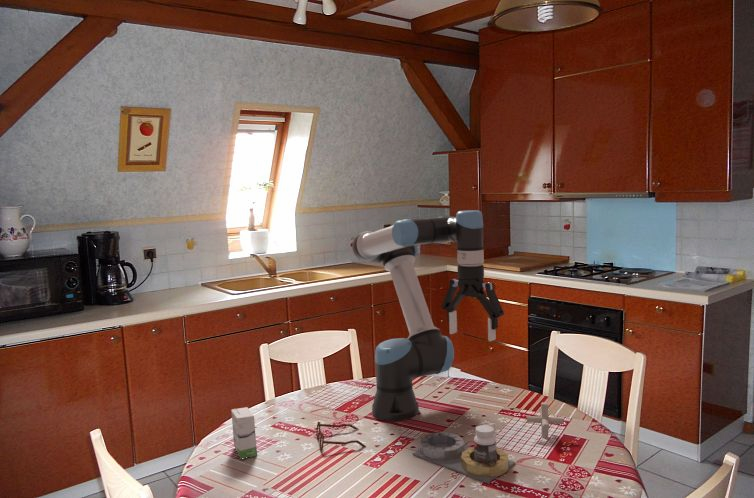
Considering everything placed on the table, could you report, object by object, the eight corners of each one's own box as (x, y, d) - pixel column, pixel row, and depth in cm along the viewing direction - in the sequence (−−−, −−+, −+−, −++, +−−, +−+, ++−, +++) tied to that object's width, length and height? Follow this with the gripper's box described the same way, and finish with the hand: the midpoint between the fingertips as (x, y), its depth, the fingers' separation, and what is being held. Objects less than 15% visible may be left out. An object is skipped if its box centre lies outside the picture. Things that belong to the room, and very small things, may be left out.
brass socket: (452, 467, 153) (452, 457, 152) (478, 451, 161) (478, 442, 161) (491, 481, 145) (491, 471, 144) (517, 464, 153) (516, 454, 153)
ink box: (257, 456, 165) (255, 415, 163) (240, 460, 162) (237, 419, 161) (250, 444, 172) (247, 405, 171) (233, 448, 170) (230, 408, 169)
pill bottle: (469, 465, 153) (468, 428, 152) (484, 458, 157) (483, 422, 156) (487, 472, 149) (485, 434, 148) (501, 465, 152) (500, 428, 151)
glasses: (315, 435, 178) (314, 419, 177) (358, 430, 180) (357, 414, 180) (320, 454, 165) (319, 437, 164) (366, 448, 168) (365, 431, 167)
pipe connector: (565, 445, 163) (564, 410, 162) (527, 443, 165) (527, 409, 164) (561, 430, 173) (561, 397, 172) (526, 429, 175) (525, 396, 174)
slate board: (412, 455, 161) (412, 453, 161) (442, 439, 171) (441, 437, 171) (487, 483, 145) (487, 481, 145) (515, 463, 154) (515, 462, 154)
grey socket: (411, 451, 162) (411, 442, 162) (438, 437, 171) (437, 429, 171) (446, 464, 154) (445, 455, 154) (472, 448, 163) (471, 440, 162)
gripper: (428, 263, 176) (430, 332, 178) (500, 269, 158) (502, 346, 161) (444, 260, 181) (445, 327, 183) (515, 265, 164) (516, 340, 166)
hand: (472, 336), depth 172 cm, fingers open, 13 cm apart
